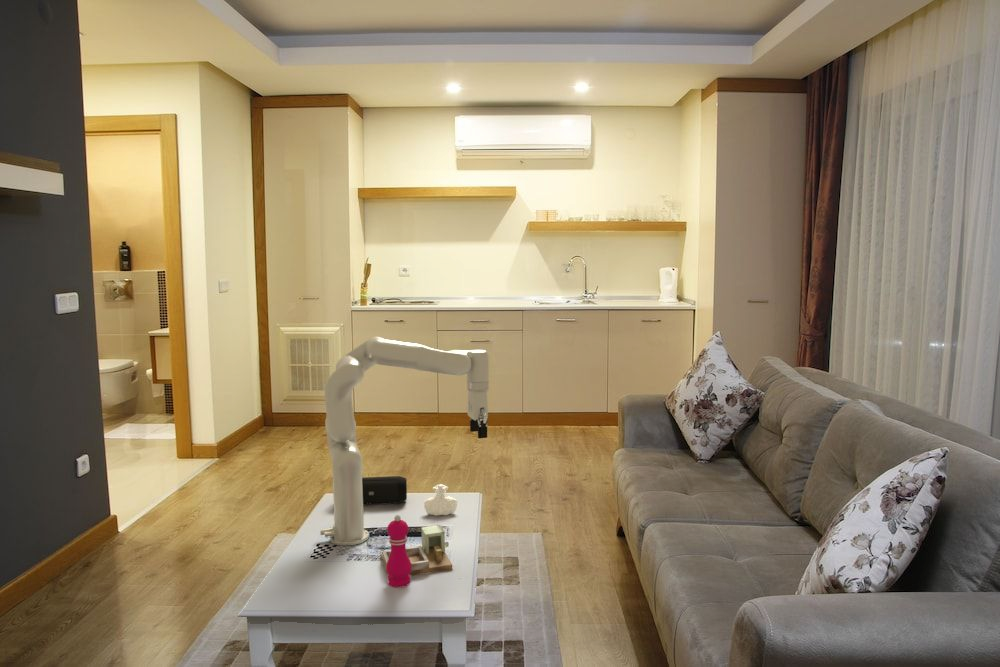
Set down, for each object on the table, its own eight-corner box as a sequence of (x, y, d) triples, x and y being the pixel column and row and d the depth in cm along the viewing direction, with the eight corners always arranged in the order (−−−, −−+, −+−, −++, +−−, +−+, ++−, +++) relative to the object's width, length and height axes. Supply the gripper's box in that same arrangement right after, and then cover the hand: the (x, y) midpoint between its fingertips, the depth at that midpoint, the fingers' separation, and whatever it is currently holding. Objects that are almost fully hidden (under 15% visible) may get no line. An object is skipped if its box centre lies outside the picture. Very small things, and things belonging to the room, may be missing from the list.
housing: (425, 554, 219) (425, 534, 219) (421, 546, 225) (421, 527, 224) (444, 551, 221) (444, 531, 220) (440, 544, 227) (440, 524, 226)
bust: (457, 518, 260) (456, 488, 266) (457, 511, 253) (456, 481, 259) (424, 519, 259) (424, 489, 265) (423, 512, 252) (423, 482, 258)
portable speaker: (336, 509, 264) (335, 483, 263) (340, 500, 274) (339, 475, 273) (406, 506, 267) (405, 480, 266) (407, 497, 276) (406, 472, 275)
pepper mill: (391, 590, 199) (389, 522, 197) (383, 580, 206) (381, 513, 203) (415, 584, 203) (413, 517, 200) (407, 574, 209) (405, 509, 206)
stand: (388, 578, 207) (388, 564, 206) (380, 556, 222) (380, 543, 221) (452, 569, 212) (452, 554, 212) (440, 548, 227) (439, 535, 227)
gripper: (460, 382, 252) (461, 429, 254) (474, 391, 235) (475, 441, 237) (481, 380, 254) (481, 428, 256) (495, 389, 238) (496, 439, 240)
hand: (478, 434), depth 247 cm, fingers open, 9 cm apart
